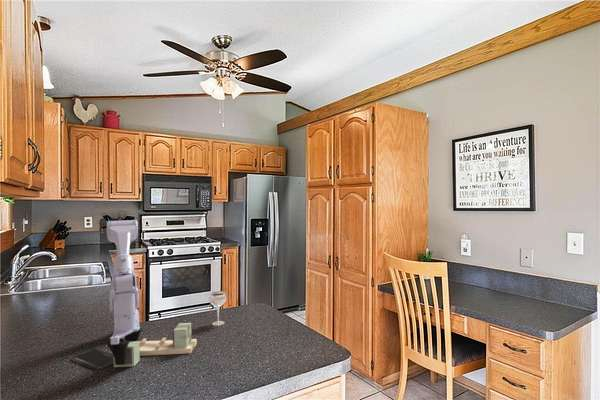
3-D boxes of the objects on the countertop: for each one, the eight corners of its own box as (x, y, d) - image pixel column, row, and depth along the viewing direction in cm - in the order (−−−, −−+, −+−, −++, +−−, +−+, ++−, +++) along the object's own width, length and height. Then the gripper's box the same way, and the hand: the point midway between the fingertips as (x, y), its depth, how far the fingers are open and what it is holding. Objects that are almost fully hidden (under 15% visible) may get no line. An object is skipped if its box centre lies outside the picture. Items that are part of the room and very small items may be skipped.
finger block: (120, 361, 108) (119, 342, 108) (139, 360, 108) (139, 341, 108) (112, 368, 104) (112, 348, 104) (133, 367, 104) (132, 347, 104)
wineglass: (214, 327, 135) (213, 296, 135) (206, 323, 140) (206, 293, 140) (230, 323, 139) (229, 293, 139) (222, 319, 144) (221, 290, 144)
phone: (96, 368, 102) (70, 357, 110) (96, 372, 102) (70, 361, 110) (122, 357, 109) (96, 348, 117) (122, 361, 109) (96, 351, 117)
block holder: (137, 346, 119) (137, 324, 119) (196, 343, 120) (196, 321, 120) (127, 356, 111) (126, 333, 111) (190, 353, 112) (190, 330, 112)
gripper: (128, 321, 99) (129, 369, 99) (147, 306, 113) (148, 347, 113) (102, 322, 99) (104, 370, 99) (125, 307, 113) (126, 348, 113)
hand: (126, 358), depth 106 cm, fingers open, 7 cm apart
